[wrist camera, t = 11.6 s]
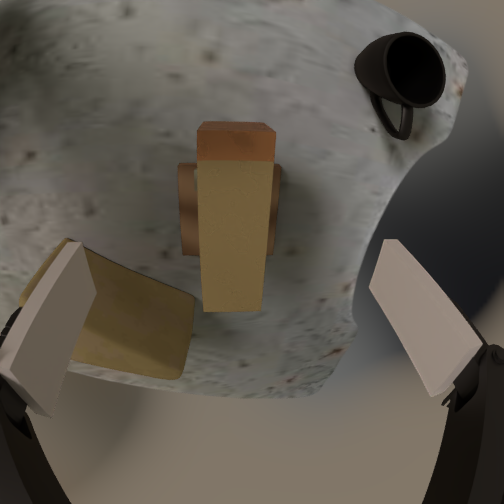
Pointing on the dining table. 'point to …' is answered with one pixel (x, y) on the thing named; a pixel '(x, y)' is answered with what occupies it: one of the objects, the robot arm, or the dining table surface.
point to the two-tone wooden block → (233, 212)
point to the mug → (401, 76)
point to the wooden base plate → (190, 208)
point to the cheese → (130, 320)
